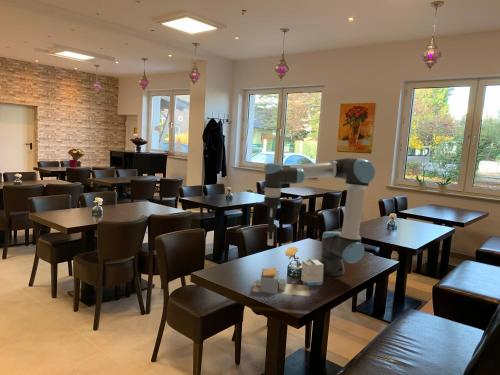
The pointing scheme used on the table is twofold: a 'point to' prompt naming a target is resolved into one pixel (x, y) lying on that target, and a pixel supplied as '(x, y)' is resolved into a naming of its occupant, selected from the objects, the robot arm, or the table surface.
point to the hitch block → (270, 283)
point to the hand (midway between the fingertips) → (270, 244)
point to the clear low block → (280, 284)
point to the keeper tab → (268, 272)
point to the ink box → (312, 272)
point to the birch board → (288, 289)
